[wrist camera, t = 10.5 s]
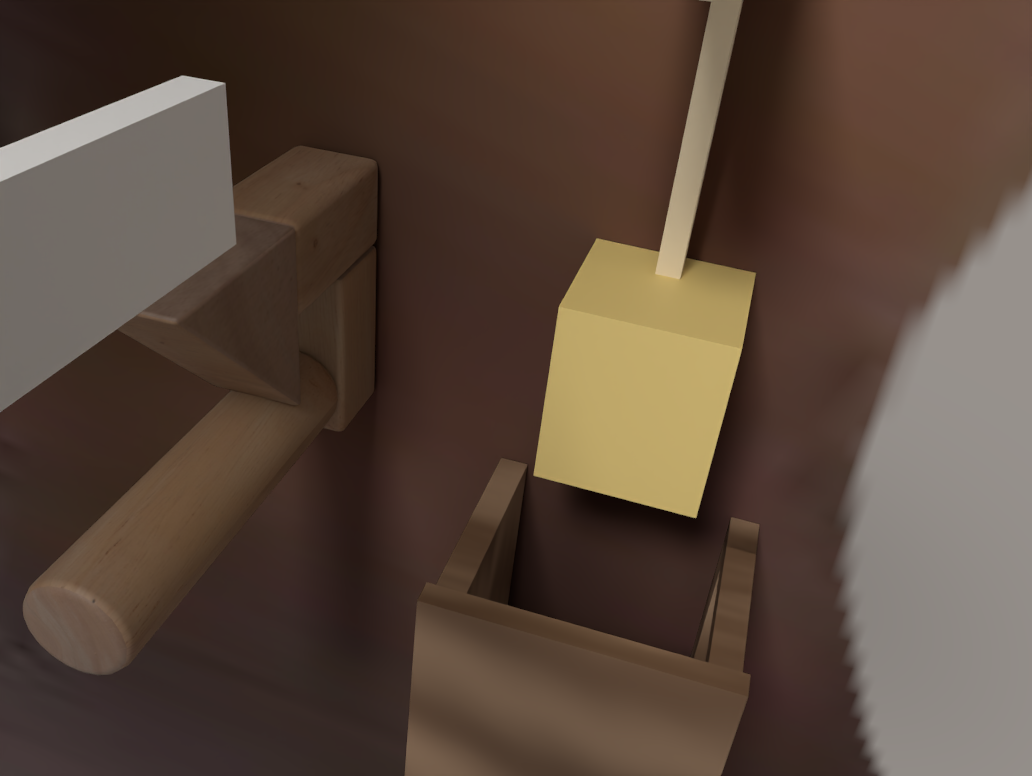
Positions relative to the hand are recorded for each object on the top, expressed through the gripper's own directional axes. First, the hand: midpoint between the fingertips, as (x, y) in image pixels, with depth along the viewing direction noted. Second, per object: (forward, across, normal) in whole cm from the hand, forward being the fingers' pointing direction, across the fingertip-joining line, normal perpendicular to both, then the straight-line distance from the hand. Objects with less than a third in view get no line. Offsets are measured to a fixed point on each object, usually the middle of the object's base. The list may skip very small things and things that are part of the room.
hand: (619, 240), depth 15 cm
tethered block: (+21, 0, -5) cm, 21 cm away
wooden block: (+21, -14, -12) cm, 28 cm away
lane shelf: (+21, -1, -26) cm, 33 cm away
